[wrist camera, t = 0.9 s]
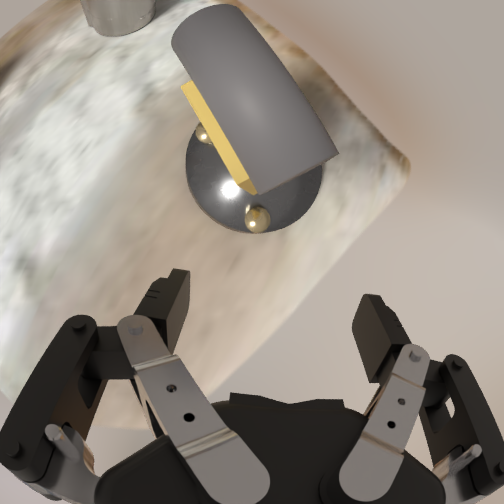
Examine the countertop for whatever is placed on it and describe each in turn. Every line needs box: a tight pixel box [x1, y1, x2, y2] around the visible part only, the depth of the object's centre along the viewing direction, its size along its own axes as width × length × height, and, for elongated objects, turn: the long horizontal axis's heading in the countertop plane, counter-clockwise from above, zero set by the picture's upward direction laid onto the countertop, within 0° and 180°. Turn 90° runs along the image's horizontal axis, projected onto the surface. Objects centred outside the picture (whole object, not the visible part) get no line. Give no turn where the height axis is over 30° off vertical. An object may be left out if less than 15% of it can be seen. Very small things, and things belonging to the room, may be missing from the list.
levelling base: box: [186, 122, 322, 234], centre depth 31 cm, size 15×15×2 cm
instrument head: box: [171, 4, 339, 195], centre depth 19 cm, size 5×8×21 cm, turn 30°
